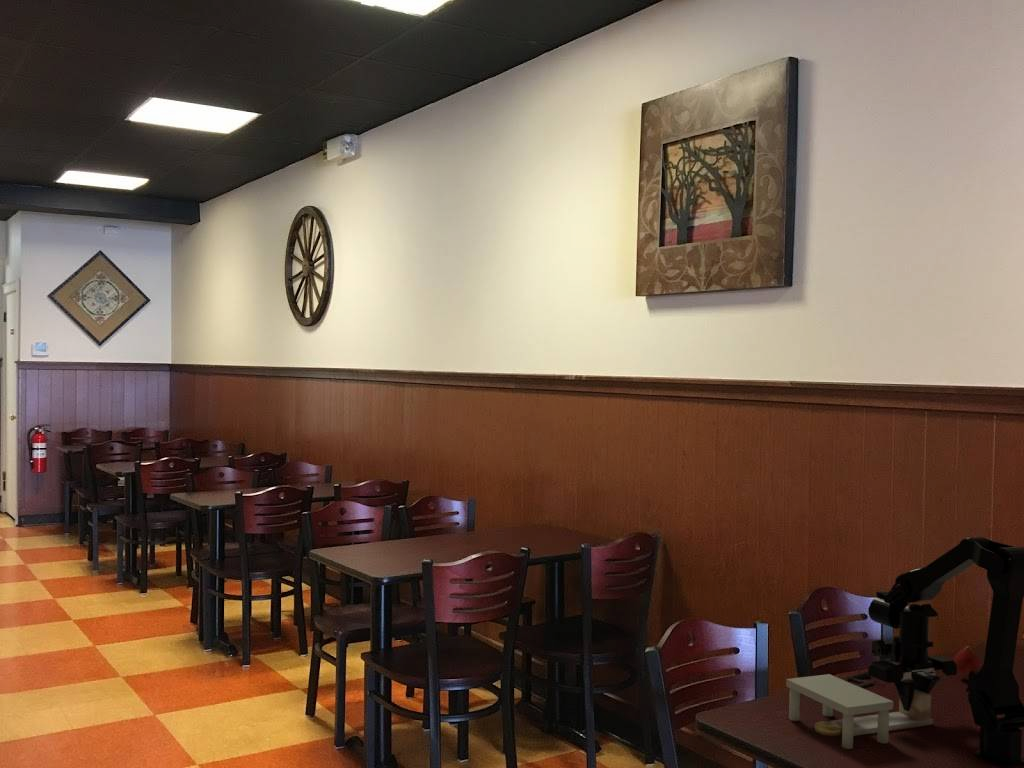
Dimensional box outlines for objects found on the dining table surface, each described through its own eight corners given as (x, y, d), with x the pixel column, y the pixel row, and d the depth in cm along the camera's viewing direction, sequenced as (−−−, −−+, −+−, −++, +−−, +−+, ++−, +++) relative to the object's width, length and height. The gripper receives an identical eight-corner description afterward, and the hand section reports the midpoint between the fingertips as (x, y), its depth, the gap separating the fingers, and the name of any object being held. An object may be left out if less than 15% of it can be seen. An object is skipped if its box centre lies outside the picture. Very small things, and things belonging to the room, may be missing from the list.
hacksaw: (865, 676, 231) (865, 670, 231) (903, 689, 222) (903, 682, 222) (796, 692, 218) (796, 685, 218) (833, 706, 209) (834, 698, 209)
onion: (947, 677, 231) (948, 643, 231) (964, 674, 233) (965, 641, 233) (968, 684, 225) (969, 650, 225) (985, 681, 228) (986, 647, 228)
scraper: (933, 724, 198) (933, 695, 198) (850, 736, 190) (851, 705, 190) (910, 714, 204) (911, 686, 203) (830, 725, 196) (830, 696, 196)
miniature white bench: (892, 742, 187) (893, 701, 187) (846, 749, 183) (848, 707, 183) (828, 712, 204) (829, 674, 204) (785, 718, 200) (786, 679, 199)
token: (846, 733, 192) (846, 727, 192) (830, 738, 189) (830, 731, 189) (826, 725, 196) (826, 719, 196) (809, 730, 193) (809, 724, 193)
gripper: (919, 621, 212) (917, 693, 212) (850, 627, 205) (848, 702, 205) (959, 634, 201) (957, 709, 201) (889, 641, 194) (887, 719, 194)
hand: (911, 709), depth 201 cm, fingers closed on scraper, 2 cm apart
